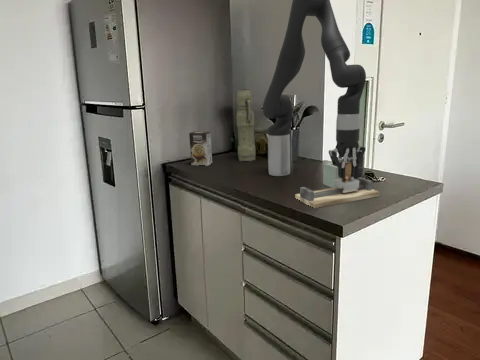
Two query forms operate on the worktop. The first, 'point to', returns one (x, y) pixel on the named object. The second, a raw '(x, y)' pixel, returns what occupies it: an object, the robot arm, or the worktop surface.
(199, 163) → the coffee box
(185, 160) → the worktop surface
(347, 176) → the carriage
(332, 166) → the button box
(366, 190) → the rail track
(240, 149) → the thermos
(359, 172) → the supplement bottle
